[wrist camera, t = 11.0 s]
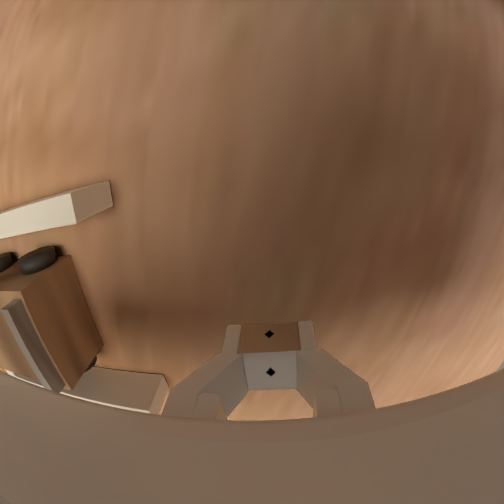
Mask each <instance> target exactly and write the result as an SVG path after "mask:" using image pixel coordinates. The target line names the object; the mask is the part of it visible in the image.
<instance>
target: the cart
mask: <svg viewBox="0 0 504 504" xmlns="http://www.w3.org/2000/svg"><path fill="white" fill-rule="evenodd" d="M103 345H104V344H103V342H102V339H101V337H100V335H99V333H98V330H97V328H96V326H95V323H94V321H93V318H92V316H91V313H90V311H89V308H88V306H87V303H86V300H85V298H84V295H83V292H82V289H81V286H80V283H79V281H78V278H77V275H76V271H75V268H74V265H73V262H72V259H71V255H67V256H58V257H57V255H56V252H55V248H54V246H46V247H42V248H39V249H36V250H34V251H31V252H29V253H27V254H26V255H24V256H22V257H21V258H20V259H19V260H18V261H15V262H13V260H12V257H11V254H10V253H9V252H8V253H4V254H1V255H0V367H1V368H3V369H6V370H8V371H11V372H14V373H16V374H19V375H22V376H25V377H28V378H31V379H34V380H37V381H40V382H41V384H42V385H43V387H44V388H46V389H49V390H52V391H55V392H58V393H60V392H61V391H62V389H63V388H64V389H67V390H71V391H72V390H73V388H74V387H75V385H76V384H77V382H78V381H79V379H80V378H81V376H82V375H83V373H85V372H87V371H88V370H90V369H91V368H92V367H93V366H94V365H95V363H96V360H97V356H96V354H97V353H98V352H99V350H100V349H101V347H102V346H103Z"/></svg>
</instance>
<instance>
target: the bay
mask: <svg viewBox="0 0 504 504" xmlns="http://www.w3.org/2000/svg"><path fill="white" fill-rule="evenodd" d="M112 206H113V201H112V196H111V190H110V184H109V181H106V182H101V183H97V184H93V185H89V186H85V187H81V188H77V189H73V190H69V191H65V192H62V193H58V194H55V195H51V196H48V197H44V198H41V199H37V200H34V201H31V202H28V203H25V204H22V205H19V206H16V207H13V208H10V209H7V210H4V211H1V212H0V239H2V238H7V237H11V236H16V235H20V234H25V233H30V232H35V231H40V230H45V229H50V228H56V227H61V226H66V225H72V224H77V223H79V222H81V221H83V220H85V219H87V218H89V217H91V216H93V215H95V214H97V213H99V212H101V211H103V210H105V209H108V208H110V207H112ZM5 370H6V369H5ZM6 371H7V373H8V374H9V375H11V376H14V377H16V378H18V379H21V380H24V381H26V382H29V383H31V384H34V385H37V386H40V387H43V385H42V384H41V382H40V381H37V380H34V379H31V378H28V377H25V376H22V375H19V374H16V373H14V372H11V371H8V370H6ZM43 388H44V387H43ZM168 388H169V387H168V385H167V382H166V380H165V378H164V375H159V374H147V373H137V372H128V371H120V370H113V369H106V368H99V367H92V368H91V369H90V370H88V371H87V372H85V373H83V375H82V376H81V378H80V379H79V381H78V382H77V384H76V385H75V387H74V388H73V390H72V391H71V390H67V389H64V388H63V389H62V391H61V392H60V393H61V394H64V395H68V396H71V397H75V398H78V399H82V400H86V401H90V402H94V403H98V404H102V405H107V406H111V407H116V408H121V409H126V410H132V411H138V412H144V413H150V414H157V415H159V412H160V410H161V407H162V404H163V401H164V399H165V396H166V393H167V391H168Z"/></svg>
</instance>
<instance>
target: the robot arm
mask: <svg viewBox="0 0 504 504" xmlns="http://www.w3.org/2000/svg"><path fill="white" fill-rule="evenodd" d="M270 389H297V390H298V392H299V393H300V394H301V395H302V396H303V398H304V399H305V400H306V401H307V402H308V403H309V404H310V406H311V407H312V408H313V409H314V412H313V418H303V419H289V420H265V421H232V420H227V417H228V416H229V414H230V413H231V412H232V411H233V410H234V408H235V407H236V406H237V405H238V404H239V403H240V401H241V400H242V399H243V398H244V397H245V395H246V394H247V393H248V391H250V390H270ZM0 504H504V368H503V369H501V370H499V371H497V372H494V373H492V374H490V375H487V376H485V377H482V378H480V379H477V380H475V381H472V382H469V383H467V384H464V385H461V386H458V387H455V388H453V389H450V390H446V391H443V392H440V393H437V394H434V395H430V396H427V397H423V398H420V399H416V400H412V401H408V402H404V403H400V404H396V405H391V406H387V407H382V408H377V409H376V408H375V405H374V401H373V398H372V395H371V391H370V388H369V385H368V382H366V381H365V380H364V379H362V378H361V377H359V376H358V375H357V374H355V373H354V372H353V371H351V370H350V369H348V368H347V367H346V366H344V365H343V364H342V363H340V362H339V361H338V360H336V359H335V358H334V357H332V356H331V355H330V354H328V353H327V352H326V351H324V350H323V349H318V347H317V342H316V337H315V332H314V327H313V322H312V320H307V321H298V322H291V323H278V324H243V325H228V326H227V329H226V333H225V338H224V342H223V346H222V351H221V354H216V355H215V356H214V357H212V358H211V359H210V360H209V361H207V362H206V363H205V364H203V365H202V366H201V367H200V368H198V369H197V370H196V371H194V372H193V373H192V374H191V375H189V376H188V377H187V378H185V379H184V380H183V381H181V382H180V383H179V384H177V385H176V386H175V387H174V388H172V389H171V390H170V393H169V395H168V398H167V401H166V404H165V406H164V409H163V412H162V414H161V415H157V414H150V413H144V412H138V411H132V410H126V409H121V408H116V407H111V406H107V405H102V404H98V403H94V402H90V401H86V400H82V399H78V398H75V397H71V396H68V395H64V394H61V393H58V392H55V391H52V390H49V389H46V388H43V387H40V386H37V385H34V384H31V383H29V382H26V381H24V380H21V379H18V378H16V377H14V376H11V375H9V374H7V373H5V372H2V371H0Z"/></svg>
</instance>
